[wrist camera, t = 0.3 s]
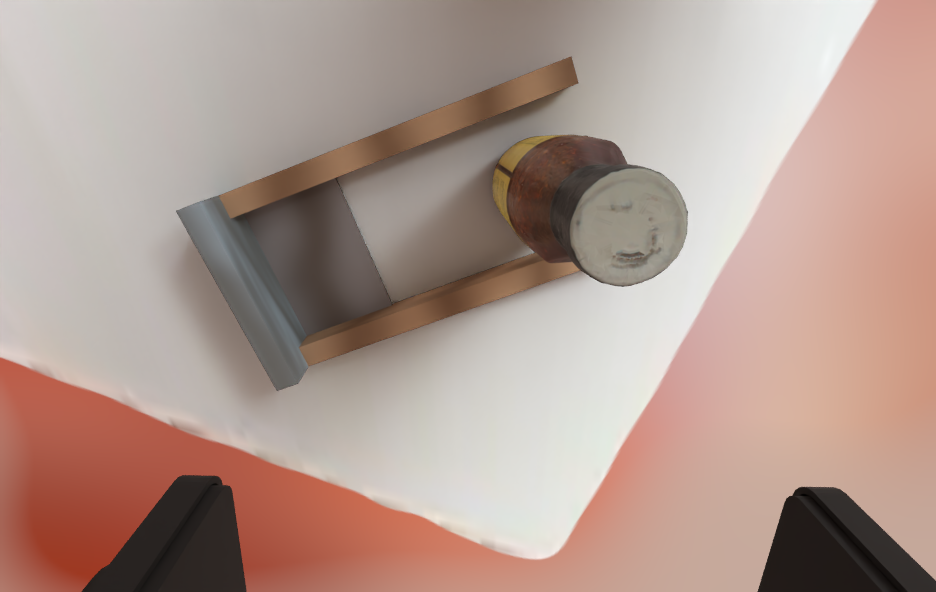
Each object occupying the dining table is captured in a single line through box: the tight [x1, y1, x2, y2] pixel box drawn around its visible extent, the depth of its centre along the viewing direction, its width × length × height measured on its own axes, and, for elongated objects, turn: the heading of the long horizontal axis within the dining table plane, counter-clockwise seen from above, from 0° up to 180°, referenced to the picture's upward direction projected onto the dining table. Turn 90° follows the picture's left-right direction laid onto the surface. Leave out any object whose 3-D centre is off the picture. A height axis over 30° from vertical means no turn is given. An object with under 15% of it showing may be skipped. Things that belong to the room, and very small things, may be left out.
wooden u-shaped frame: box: [176, 57, 580, 391], centre depth 34 cm, size 26×13×5 cm, turn 110°
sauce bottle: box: [493, 135, 688, 287], centre depth 26 cm, size 6×6×20 cm
